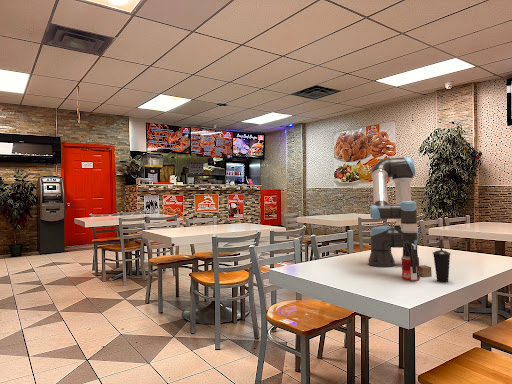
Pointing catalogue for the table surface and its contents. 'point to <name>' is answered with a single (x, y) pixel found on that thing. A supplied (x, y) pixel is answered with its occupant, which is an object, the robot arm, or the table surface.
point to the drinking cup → (442, 264)
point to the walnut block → (425, 271)
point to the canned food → (408, 269)
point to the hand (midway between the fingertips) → (410, 277)
